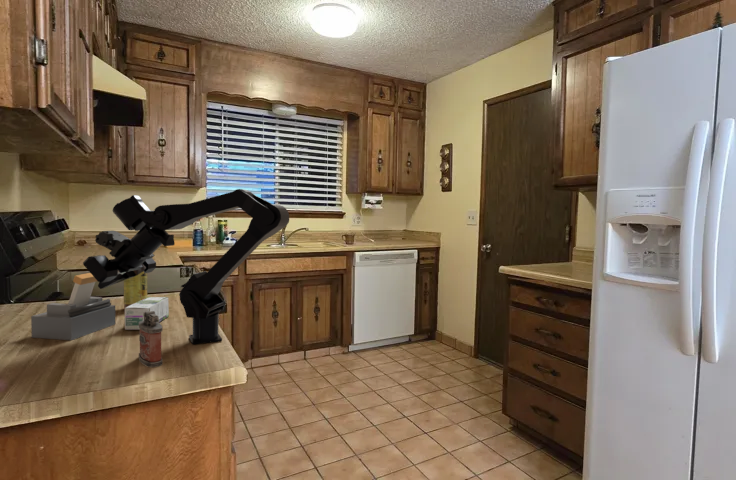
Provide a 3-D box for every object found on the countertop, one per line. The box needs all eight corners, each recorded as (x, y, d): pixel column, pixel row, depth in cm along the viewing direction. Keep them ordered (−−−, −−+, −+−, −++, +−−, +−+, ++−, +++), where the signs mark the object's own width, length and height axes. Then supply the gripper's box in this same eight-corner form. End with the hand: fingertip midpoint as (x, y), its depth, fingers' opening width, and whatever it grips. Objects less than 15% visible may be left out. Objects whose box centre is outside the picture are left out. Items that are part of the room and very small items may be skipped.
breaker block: (115, 324, 107) (115, 296, 107) (71, 340, 93) (71, 308, 93) (80, 321, 108) (79, 294, 108) (31, 337, 94) (31, 305, 94)
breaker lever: (88, 309, 103) (100, 275, 102) (70, 314, 98) (82, 278, 97) (81, 305, 103) (93, 272, 102) (63, 311, 98) (74, 275, 97)
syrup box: (148, 316, 116) (124, 331, 102) (147, 296, 116) (123, 308, 101) (169, 316, 117) (148, 331, 102) (168, 295, 116) (147, 307, 102)
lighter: (135, 357, 84) (135, 309, 83) (152, 353, 86) (152, 307, 86) (147, 368, 78) (147, 317, 78) (166, 364, 81) (166, 314, 80)
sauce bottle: (146, 310, 123) (146, 244, 122) (122, 311, 120) (122, 244, 119) (147, 305, 129) (148, 242, 128) (124, 306, 126) (124, 242, 125)
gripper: (146, 219, 107) (106, 258, 109) (91, 220, 89) (44, 267, 90) (174, 251, 107) (134, 289, 109) (124, 258, 88) (77, 305, 90)
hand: (100, 287), depth 99 cm, fingers closed
